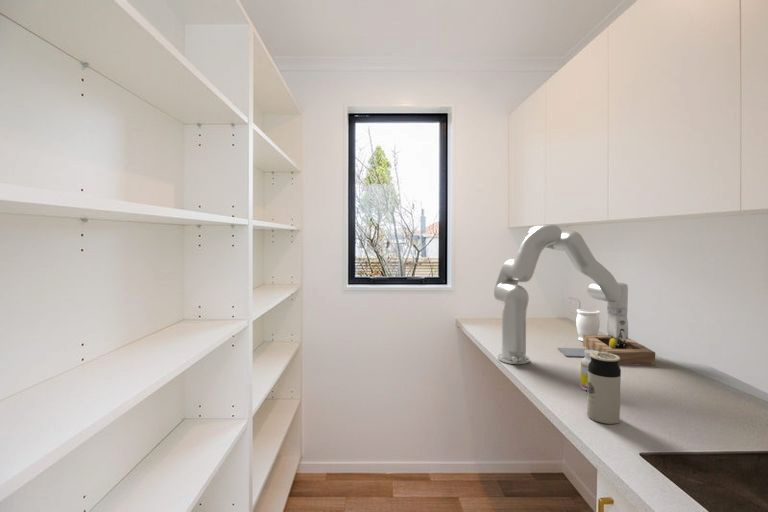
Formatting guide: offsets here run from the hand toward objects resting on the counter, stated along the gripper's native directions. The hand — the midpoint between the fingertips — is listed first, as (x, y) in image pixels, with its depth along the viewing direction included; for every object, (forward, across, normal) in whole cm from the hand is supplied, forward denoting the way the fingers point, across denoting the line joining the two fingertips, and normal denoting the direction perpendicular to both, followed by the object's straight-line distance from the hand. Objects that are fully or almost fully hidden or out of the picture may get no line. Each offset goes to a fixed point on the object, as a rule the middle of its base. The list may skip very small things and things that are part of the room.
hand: (616, 352), depth 170 cm
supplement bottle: (+1, -42, +26) cm, 49 cm away
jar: (+1, +23, +4) cm, 23 cm away
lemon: (+1, 0, 0) cm, 1 cm away
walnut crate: (+1, 0, 0) cm, 1 cm away
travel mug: (+1, -64, +30) cm, 71 cm away
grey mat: (+1, 0, +16) cm, 17 cm away
